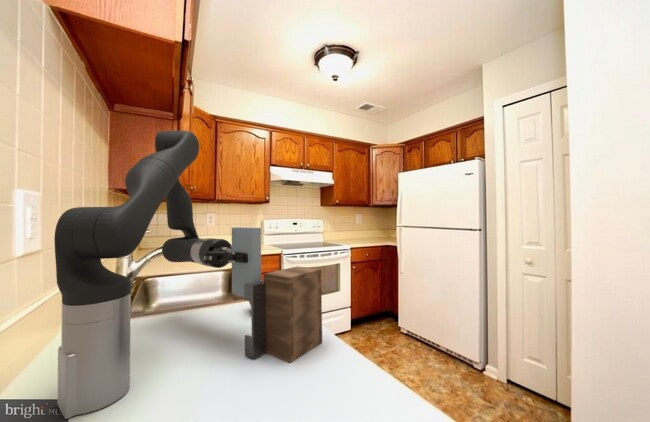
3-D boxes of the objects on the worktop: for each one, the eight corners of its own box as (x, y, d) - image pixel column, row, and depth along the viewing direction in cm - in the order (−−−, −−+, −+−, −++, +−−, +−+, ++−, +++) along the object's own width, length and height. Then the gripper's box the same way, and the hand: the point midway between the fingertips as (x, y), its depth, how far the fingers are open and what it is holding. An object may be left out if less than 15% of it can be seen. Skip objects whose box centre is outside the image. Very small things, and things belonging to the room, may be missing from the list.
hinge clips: (253, 360, 58) (253, 286, 59) (244, 355, 60) (244, 284, 61) (269, 351, 62) (268, 281, 63) (260, 347, 64) (260, 280, 64)
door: (252, 298, 61) (252, 228, 61) (231, 293, 65) (231, 227, 66) (261, 296, 63) (260, 227, 63) (240, 290, 67) (239, 227, 68)
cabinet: (289, 363, 57) (288, 277, 57) (264, 352, 62) (263, 273, 62) (322, 342, 66) (321, 269, 67) (298, 334, 71) (297, 266, 71)
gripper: (185, 240, 68) (225, 244, 57) (233, 236, 79) (274, 239, 68) (185, 270, 67) (225, 279, 57) (233, 262, 79) (274, 268, 68)
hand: (252, 257), depth 63 cm, fingers closed on door, 2 cm apart
